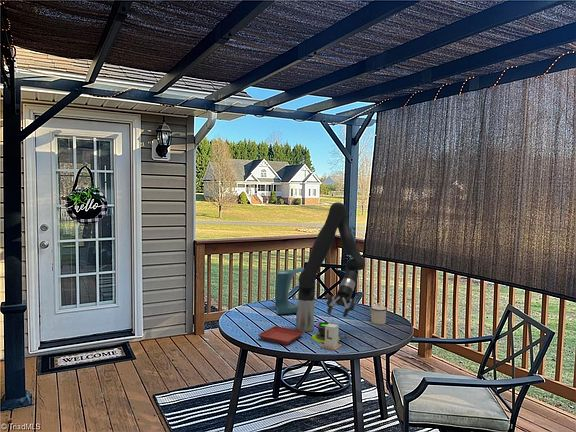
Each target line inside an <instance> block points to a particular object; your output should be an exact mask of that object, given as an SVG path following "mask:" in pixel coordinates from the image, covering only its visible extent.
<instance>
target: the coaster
mask: <svg viewBox="0 0 576 432" xmlns="http://www.w3.org/2000/svg"><path fill="white" fill-rule="evenodd" d="M342 347H343V344H341V343H338V345H337V346H335V347H334V348H333V347H329V346H325V343H323V344H320V348H322V349H326V350H330V351H335V352H336V351H337V350H338V349H340V348H342Z"/></svg>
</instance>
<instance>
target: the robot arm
mask: <svg viewBox="0 0 576 432" xmlns="http://www.w3.org/2000/svg"><path fill="white" fill-rule="evenodd" d="M346 207H347V206H346V205H345V204H344V203H343V202H340V201H337V202H334V203H332V204H331V205H330V207H329V211H328V214H327V216H326V220H325V222H324V224H323V226H322V228H321V230H320V231H319V232H318V235H317V237H316V238H315V241H314V243H313V245H312V247H311V250H310V253H309V258H308V261H307V263H306V265H305V267H304V270H303V271H302V272H300V273H299V276H298V297H297V298H298V299H297V305H298V312H297V313H295V314H296V315H295V316H296V317H295V320H296V321H295V330H299V331H303V332H307V333H308V332H312V331H314V327H315V305H314V304H316V300H315V299H316V298H315V297H316V280H317V279H316V278H317V276H318V272H319V270H320V268H321V266H322V264H323V263H324V261H325V260H326V257H327V256H328V253H329V252H330V250H331V247H332V245H333V242H334V240H335V236H336V234H337V230H338V232H339V237H340V240H341V244H342V247H343V250H344V253H345V255H346V256H350V257H352V258H350V259H348V260H347V261H346V263H345V271H344V276H343V278H342V280H341V282H340V285H339V287H338V290H337V292H336V295H335V296H334V295H333V294H330V295H329V297H328V299H327V301H326V305H327V307H328V308H327V314H329V315H331V313H332V311H333V308H334V307H336V306H342V307H345V309H344V311H343V315H342V316H343V317H344V318H346V317H348V315H349V314H348V313H349V312H350V311H352V312H353V311H354V310H355V305H356V300H355V298H354V297H353V298H352V295H353V293H354V291H355V287H356V283H357V281H358V276H359V274H358V273H357V271H358V272H359V271H362V270H364V269H365V267H366V261H365V259H364V257H363V256H362V254H361V253H360V251H359V249H358V246H357V244H356V241H355V238H354V235H353V233H352V230H351V228H350V225H349V221H348V217H347V208H346ZM349 303H350V304H349ZM348 304H349V305H348Z"/></svg>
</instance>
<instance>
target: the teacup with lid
mask: <svg viewBox="0 0 576 432" xmlns="http://www.w3.org/2000/svg"><path fill="white" fill-rule="evenodd" d="M369 314H370V316H371V318H370V322H371V323H372V324H374V325H385V324H386V321H387V319H386V318H387V307H386V306H383V305H382V303H381V302H378V303H377V304H376V305H372V306H371V308H370V309H369Z"/></svg>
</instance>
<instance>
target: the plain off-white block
mask: <svg viewBox="0 0 576 432" xmlns="http://www.w3.org/2000/svg"><path fill="white" fill-rule="evenodd" d="M331 323H332V322H330V323H329V324H327V325H326V326H325V346H329V347H333V348H334V347H335V346H337V345H338V344H339V341H338V337H339V327H340V325H339V324H336V323H334V324H331Z"/></svg>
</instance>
